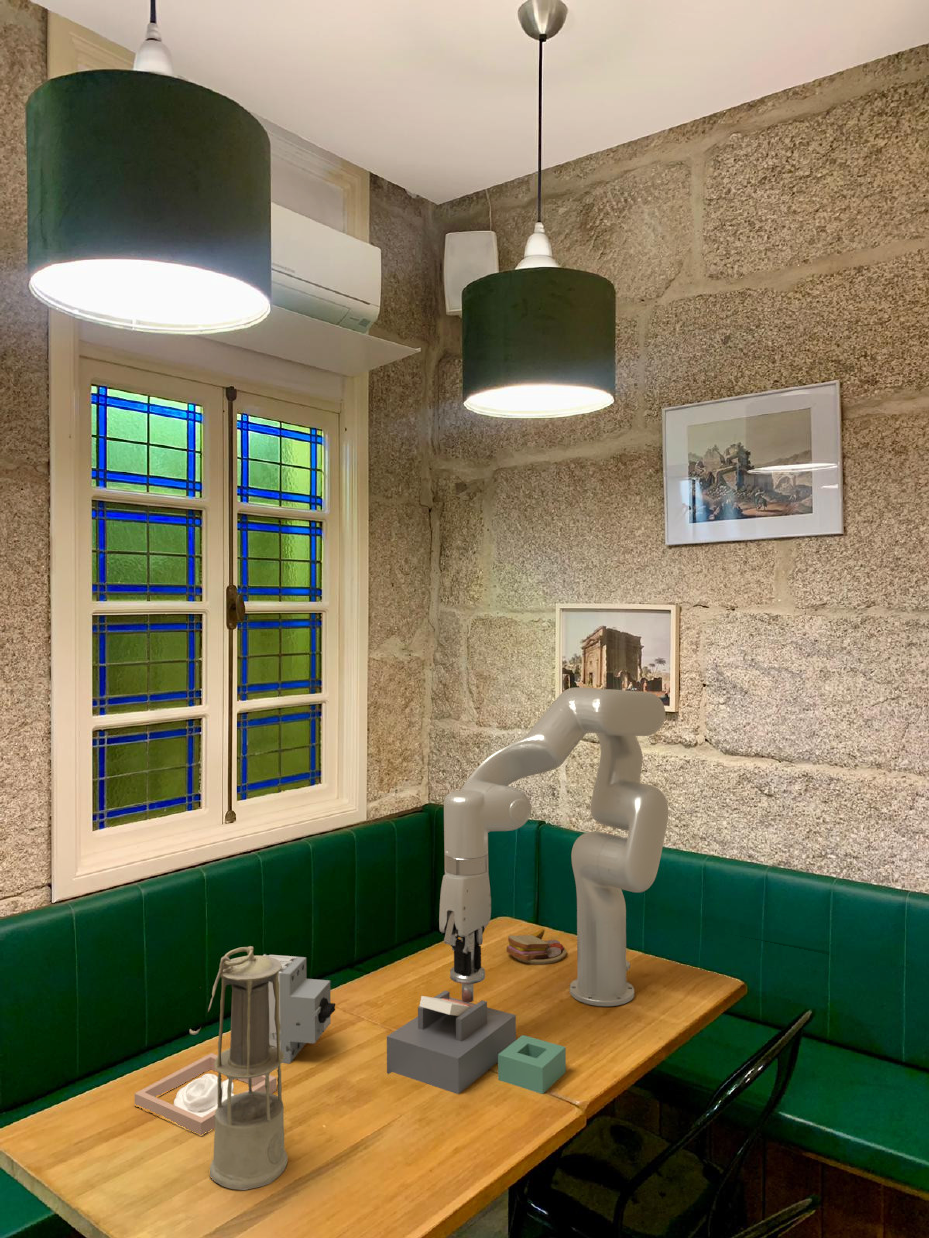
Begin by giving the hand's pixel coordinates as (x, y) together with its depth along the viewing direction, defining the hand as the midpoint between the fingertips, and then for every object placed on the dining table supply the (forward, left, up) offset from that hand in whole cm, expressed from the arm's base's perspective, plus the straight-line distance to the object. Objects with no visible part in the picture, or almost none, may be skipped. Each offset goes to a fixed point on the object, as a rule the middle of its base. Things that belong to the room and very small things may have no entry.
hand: (467, 969), depth 154 cm
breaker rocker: (+5, 0, -5) cm, 7 cm away
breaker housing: (+5, 0, -14) cm, 15 cm away
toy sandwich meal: (-44, -11, -14) cm, 48 cm away
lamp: (+45, -8, -14) cm, 47 cm away
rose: (+36, -25, -14) cm, 46 cm away
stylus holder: (+3, +14, -14) cm, 20 cm away
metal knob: (0, 0, -5) cm, 5 cm away
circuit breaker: (+17, -25, -14) cm, 33 cm away
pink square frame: (+35, -26, -14) cm, 45 cm away
